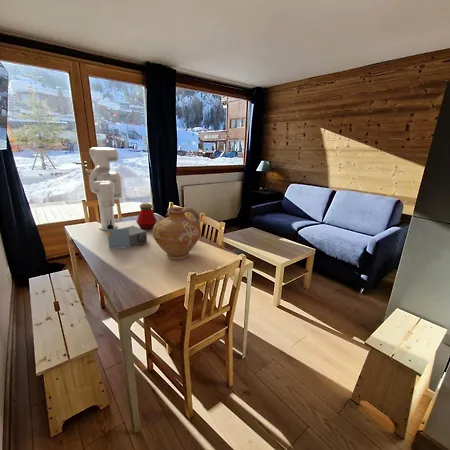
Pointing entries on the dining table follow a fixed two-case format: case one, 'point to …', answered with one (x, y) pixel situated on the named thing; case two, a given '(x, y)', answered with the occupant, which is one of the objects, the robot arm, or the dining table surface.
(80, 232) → the dining table surface
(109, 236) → the side door
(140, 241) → the box
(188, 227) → the jug
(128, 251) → the dining table surface
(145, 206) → the bottle
